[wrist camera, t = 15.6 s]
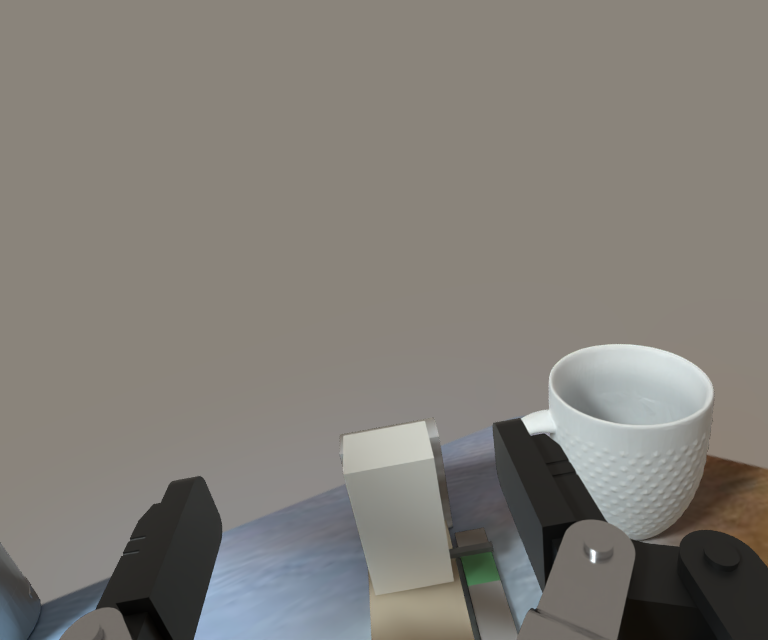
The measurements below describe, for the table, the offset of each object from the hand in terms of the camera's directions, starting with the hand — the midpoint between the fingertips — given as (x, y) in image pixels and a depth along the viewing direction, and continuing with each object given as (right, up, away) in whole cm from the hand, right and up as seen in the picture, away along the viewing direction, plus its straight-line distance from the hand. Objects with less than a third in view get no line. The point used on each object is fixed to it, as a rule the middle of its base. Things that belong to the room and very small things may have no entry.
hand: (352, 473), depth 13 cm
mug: (+20, -12, +29) cm, 37 cm away
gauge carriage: (+5, -15, +25) cm, 30 cm away
